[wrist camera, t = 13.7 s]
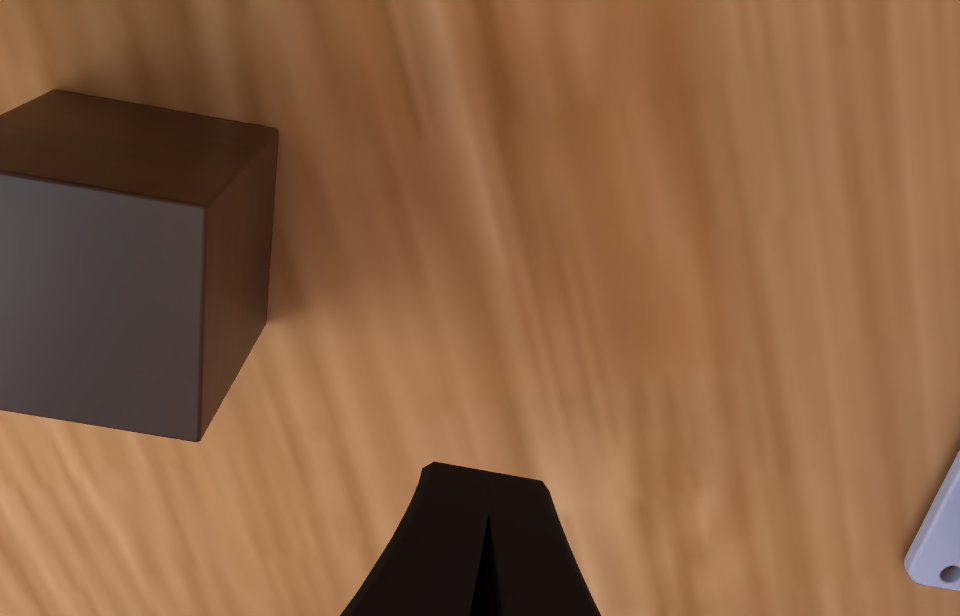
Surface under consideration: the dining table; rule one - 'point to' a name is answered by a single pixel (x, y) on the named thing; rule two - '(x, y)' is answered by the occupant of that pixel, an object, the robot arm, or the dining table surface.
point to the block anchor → (130, 261)
